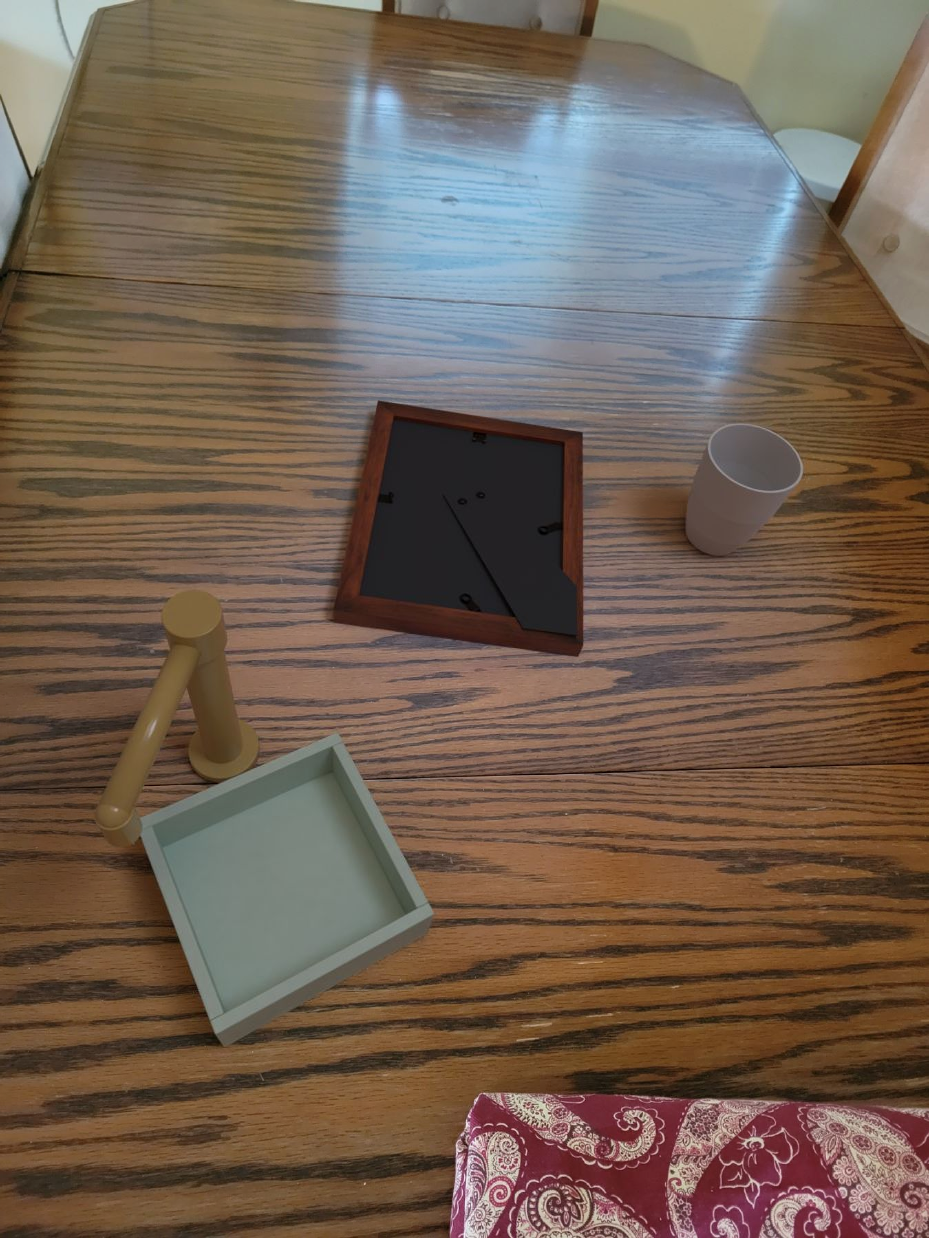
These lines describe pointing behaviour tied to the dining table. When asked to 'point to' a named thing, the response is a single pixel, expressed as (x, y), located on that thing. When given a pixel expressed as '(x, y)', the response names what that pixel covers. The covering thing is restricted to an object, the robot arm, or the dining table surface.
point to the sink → (282, 885)
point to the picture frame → (467, 531)
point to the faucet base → (218, 725)
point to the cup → (739, 486)
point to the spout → (160, 708)
